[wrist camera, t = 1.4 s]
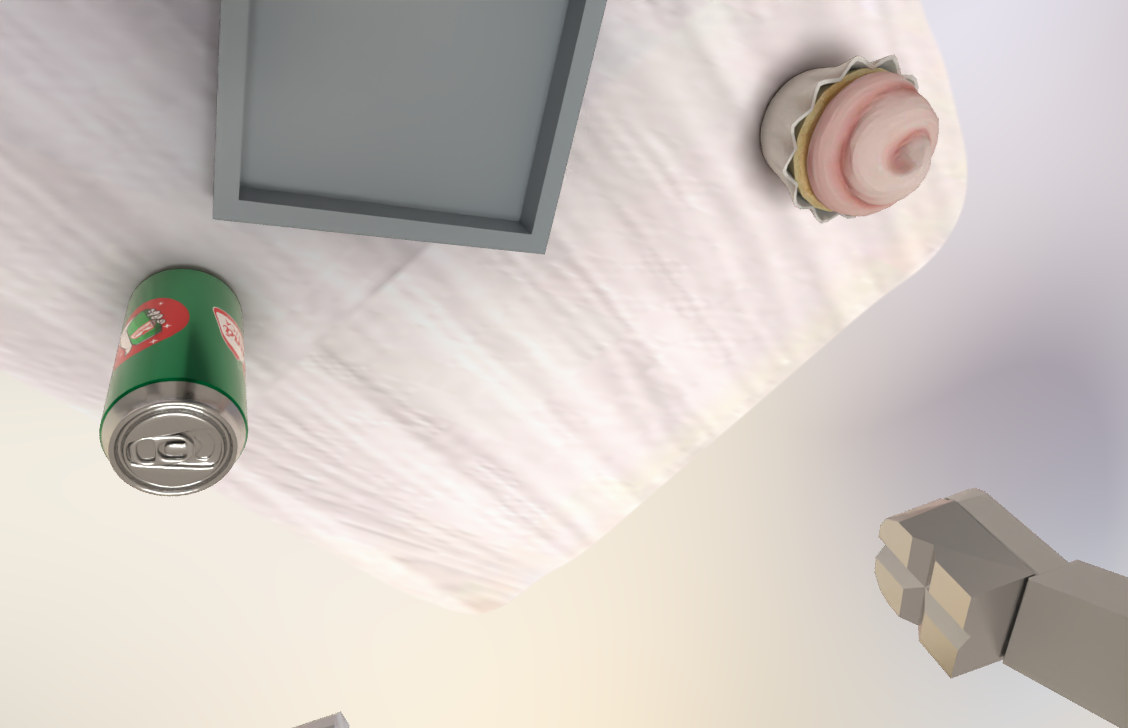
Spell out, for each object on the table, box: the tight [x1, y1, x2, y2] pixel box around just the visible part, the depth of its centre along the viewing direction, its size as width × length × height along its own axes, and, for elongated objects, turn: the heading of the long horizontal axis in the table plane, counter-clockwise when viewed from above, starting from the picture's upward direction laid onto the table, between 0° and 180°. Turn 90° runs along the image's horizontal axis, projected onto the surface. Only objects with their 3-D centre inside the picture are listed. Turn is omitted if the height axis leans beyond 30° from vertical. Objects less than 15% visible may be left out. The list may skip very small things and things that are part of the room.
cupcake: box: [761, 55, 939, 223], centre depth 41 cm, size 9×9×10 cm
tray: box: [213, 0, 607, 254], centre depth 34 cm, size 16×14×3 cm
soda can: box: [100, 269, 248, 496], centre depth 32 cm, size 5×5×12 cm
